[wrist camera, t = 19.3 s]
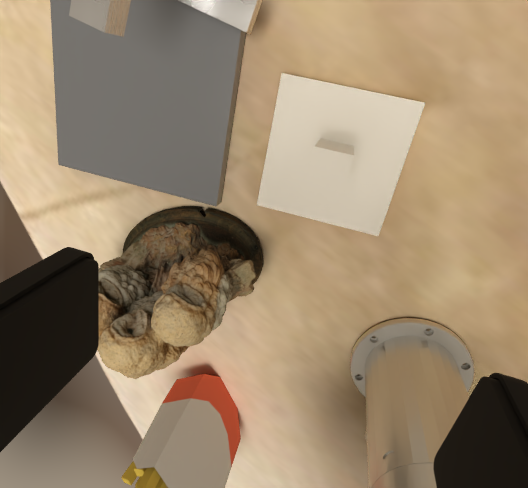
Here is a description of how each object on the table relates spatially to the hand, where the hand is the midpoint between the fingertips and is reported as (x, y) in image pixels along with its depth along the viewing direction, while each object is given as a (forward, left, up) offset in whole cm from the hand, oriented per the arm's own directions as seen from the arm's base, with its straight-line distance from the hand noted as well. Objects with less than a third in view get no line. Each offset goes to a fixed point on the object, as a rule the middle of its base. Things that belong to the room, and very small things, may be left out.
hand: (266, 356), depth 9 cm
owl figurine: (-14, +12, -29) cm, 34 cm away
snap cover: (0, 0, -29) cm, 29 cm away
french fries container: (-34, +7, -28) cm, 45 cm away
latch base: (+6, +19, -28) cm, 35 cm away
